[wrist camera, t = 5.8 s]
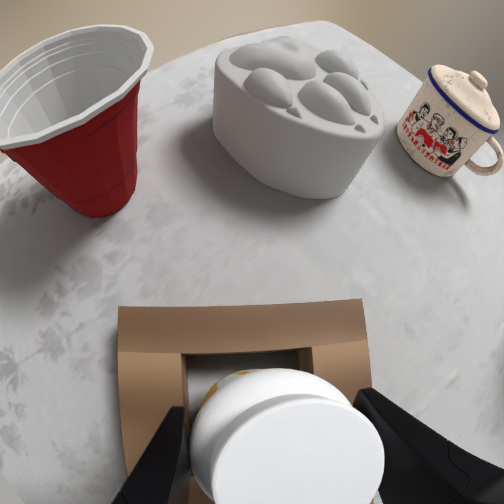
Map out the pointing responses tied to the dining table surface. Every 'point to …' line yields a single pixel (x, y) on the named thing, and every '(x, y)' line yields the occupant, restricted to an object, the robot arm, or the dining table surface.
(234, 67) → the lumpy-topped squat cylinder
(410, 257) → the dining table surface
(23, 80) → the plastic cup
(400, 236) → the dining table surface
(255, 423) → the supplement bottle
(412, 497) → the robot arm
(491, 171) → the teacup with lid
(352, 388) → the bottle holder
